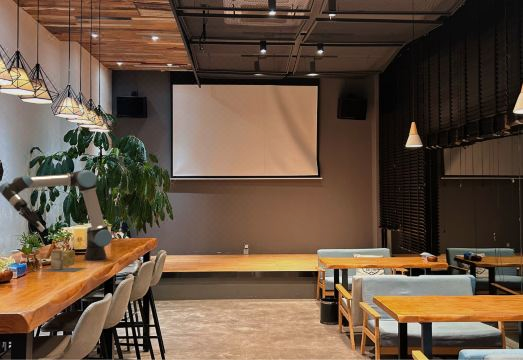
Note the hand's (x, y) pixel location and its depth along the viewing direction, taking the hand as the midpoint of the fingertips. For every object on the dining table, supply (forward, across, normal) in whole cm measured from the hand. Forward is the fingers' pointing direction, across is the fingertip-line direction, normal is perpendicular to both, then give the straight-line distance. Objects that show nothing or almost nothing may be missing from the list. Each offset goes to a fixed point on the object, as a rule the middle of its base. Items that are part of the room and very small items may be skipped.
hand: (43, 230), depth 310 cm
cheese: (+21, -17, -15) cm, 31 cm away
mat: (+28, 0, -8) cm, 29 cm away
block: (+24, 0, -11) cm, 26 cm away
